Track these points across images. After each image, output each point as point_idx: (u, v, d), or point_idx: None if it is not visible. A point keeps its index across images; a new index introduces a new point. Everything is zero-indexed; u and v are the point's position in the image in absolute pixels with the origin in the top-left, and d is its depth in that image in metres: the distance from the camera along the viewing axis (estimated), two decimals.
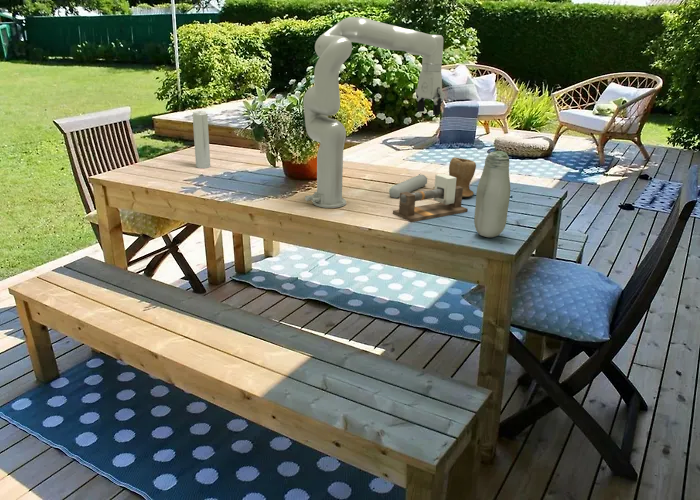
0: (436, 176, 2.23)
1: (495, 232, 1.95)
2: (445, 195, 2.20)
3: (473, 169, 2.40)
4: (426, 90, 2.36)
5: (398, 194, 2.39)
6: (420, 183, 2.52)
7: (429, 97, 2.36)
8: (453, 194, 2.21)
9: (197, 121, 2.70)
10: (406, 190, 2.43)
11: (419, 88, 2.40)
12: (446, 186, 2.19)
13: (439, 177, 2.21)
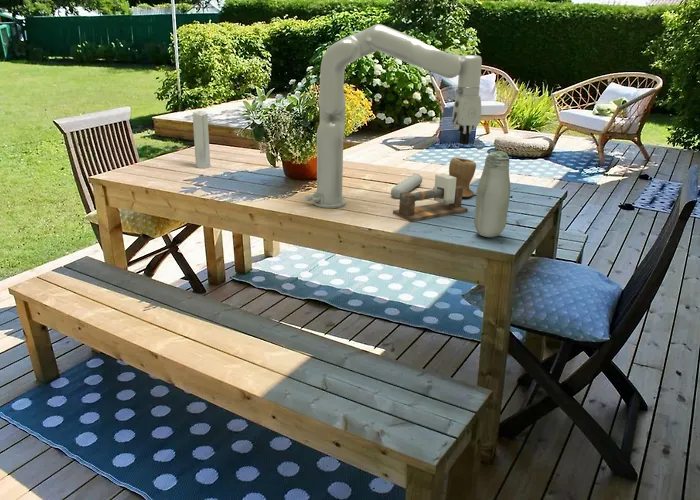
0: (436, 176, 2.23)
1: (495, 232, 1.95)
2: (445, 195, 2.20)
3: (473, 169, 2.40)
4: (474, 116, 2.15)
5: None
6: (416, 182, 2.53)
7: (477, 122, 2.17)
8: (453, 194, 2.21)
9: (197, 121, 2.70)
10: (406, 190, 2.43)
11: (464, 116, 2.13)
12: (446, 186, 2.19)
13: (439, 177, 2.21)
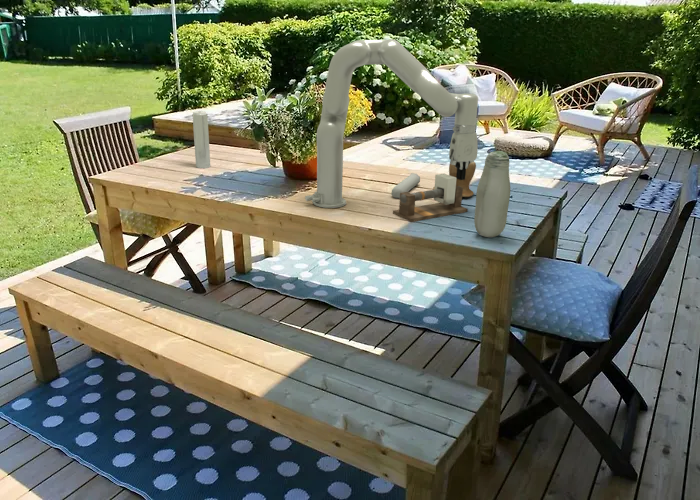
0: (436, 176, 2.23)
1: (495, 232, 1.95)
2: (445, 195, 2.20)
3: (473, 169, 2.40)
4: (470, 152, 2.20)
5: None
6: (415, 182, 2.53)
7: (474, 158, 2.22)
8: (453, 194, 2.21)
9: (197, 121, 2.70)
10: (406, 190, 2.44)
11: (461, 153, 2.18)
12: (446, 186, 2.19)
13: (439, 177, 2.21)
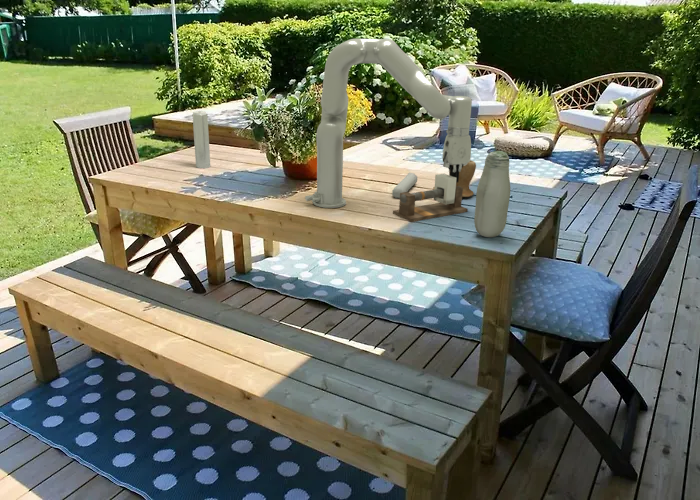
0: (436, 176, 2.23)
1: (495, 232, 1.95)
2: (445, 195, 2.20)
3: (473, 169, 2.40)
4: (464, 155, 2.19)
5: None
6: (413, 181, 2.54)
7: (467, 161, 2.21)
8: (453, 194, 2.21)
9: (197, 121, 2.70)
10: (407, 190, 2.44)
11: (454, 155, 2.17)
12: (446, 186, 2.19)
13: (439, 177, 2.21)
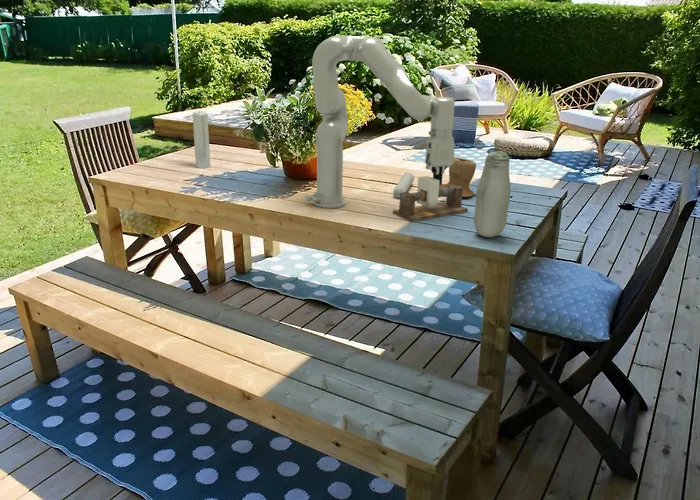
0: (419, 178, 2.19)
1: (495, 232, 1.95)
2: (428, 198, 2.16)
3: (473, 169, 2.40)
4: (447, 157, 2.15)
5: None
6: (411, 181, 2.54)
7: (450, 163, 2.17)
8: (436, 197, 2.17)
9: (197, 121, 2.70)
10: (407, 189, 2.44)
11: (437, 157, 2.13)
12: (428, 188, 2.15)
13: (422, 179, 2.17)
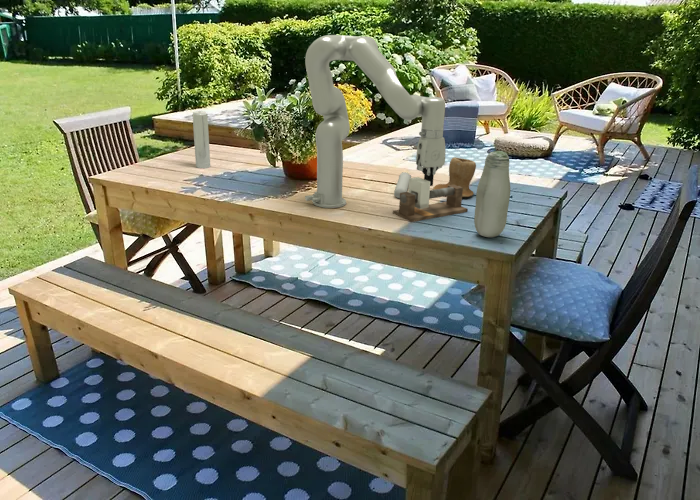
0: (410, 180, 2.17)
1: (495, 232, 1.95)
2: (419, 199, 2.14)
3: (473, 169, 2.40)
4: (438, 158, 2.13)
5: None
6: None
7: (442, 164, 2.15)
8: (427, 198, 2.15)
9: (197, 121, 2.70)
10: None
11: (427, 158, 2.10)
12: (419, 190, 2.13)
13: (413, 181, 2.15)
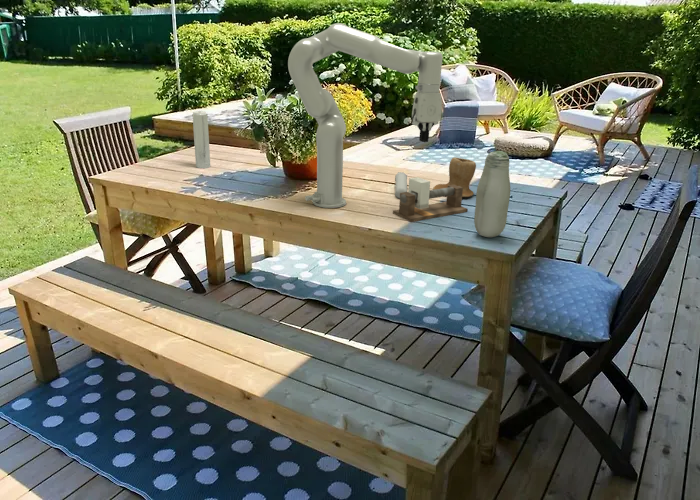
0: (410, 180, 2.17)
1: (495, 232, 1.95)
2: (419, 199, 2.14)
3: (473, 169, 2.40)
4: (433, 113, 2.13)
5: None
6: (406, 180, 2.55)
7: (437, 120, 2.15)
8: (427, 198, 2.15)
9: (197, 121, 2.70)
10: None
11: (423, 113, 2.11)
12: (419, 190, 2.13)
13: (413, 181, 2.15)
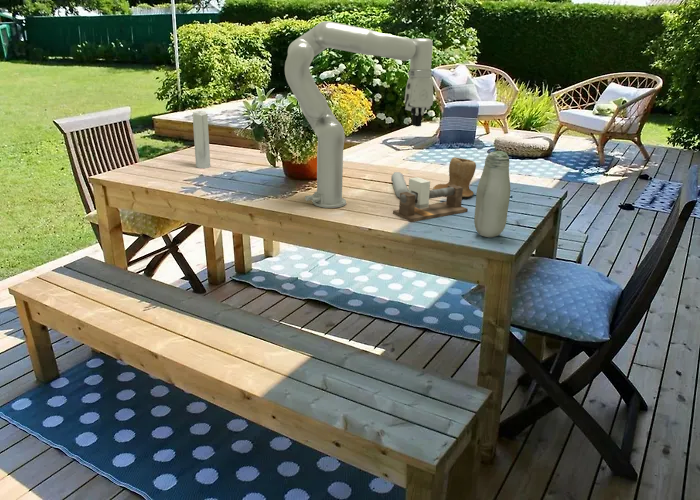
0: (410, 180, 2.17)
1: (495, 232, 1.95)
2: (419, 199, 2.14)
3: (473, 169, 2.40)
4: (425, 98, 2.20)
5: None
6: None
7: (429, 104, 2.22)
8: (427, 198, 2.15)
9: (197, 121, 2.70)
10: None
11: (416, 98, 2.18)
12: (419, 190, 2.13)
13: (413, 181, 2.15)
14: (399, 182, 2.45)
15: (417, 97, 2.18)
